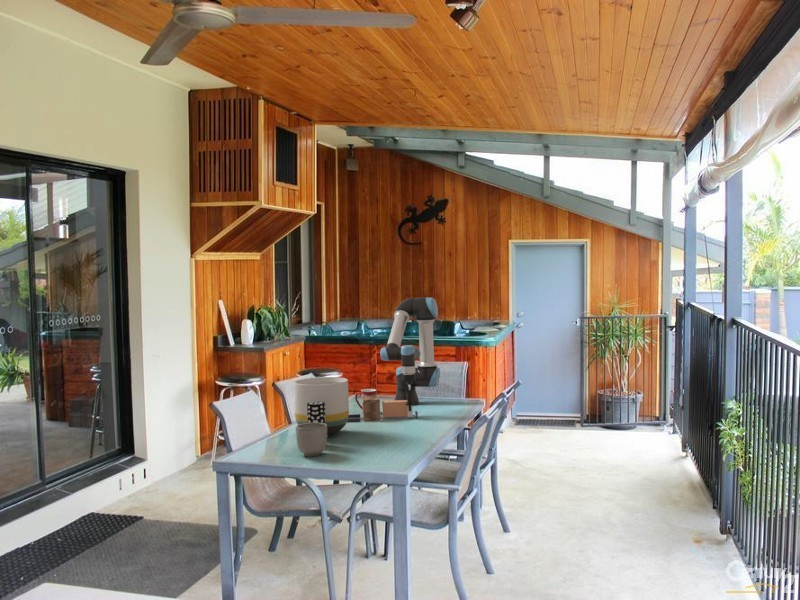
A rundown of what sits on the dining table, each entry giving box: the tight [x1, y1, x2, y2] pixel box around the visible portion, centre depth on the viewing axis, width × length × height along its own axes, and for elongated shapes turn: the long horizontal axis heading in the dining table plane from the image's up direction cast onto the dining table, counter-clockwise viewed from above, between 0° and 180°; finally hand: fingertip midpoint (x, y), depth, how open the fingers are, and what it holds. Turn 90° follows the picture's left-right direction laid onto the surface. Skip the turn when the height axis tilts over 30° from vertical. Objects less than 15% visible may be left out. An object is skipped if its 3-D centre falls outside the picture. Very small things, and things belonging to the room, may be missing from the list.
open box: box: [362, 395, 381, 423], centre depth 386 cm, size 9×12×12 cm
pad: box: [381, 418, 414, 421], centre depth 387 cm, size 17×9×1 cm, turn 93°
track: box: [360, 410, 419, 421], centre depth 386 cm, size 31×5×3 cm, turn 93°
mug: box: [355, 388, 377, 415], centre depth 403 cm, size 13×9×14 cm
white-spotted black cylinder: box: [307, 402, 326, 424], centre depth 326 cm, size 8×8×20 cm
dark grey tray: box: [347, 413, 361, 423], centre depth 386 cm, size 9×12×2 cm
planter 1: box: [293, 376, 350, 437], centre depth 350 cm, size 27×27×27 cm
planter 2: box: [295, 423, 328, 458], centre depth 310 cm, size 14×14×13 cm
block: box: [381, 400, 408, 417], centre depth 387 cm, size 16×6×8 cm, turn 93°
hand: (409, 415), depth 387 cm, fingers open, 6 cm apart
